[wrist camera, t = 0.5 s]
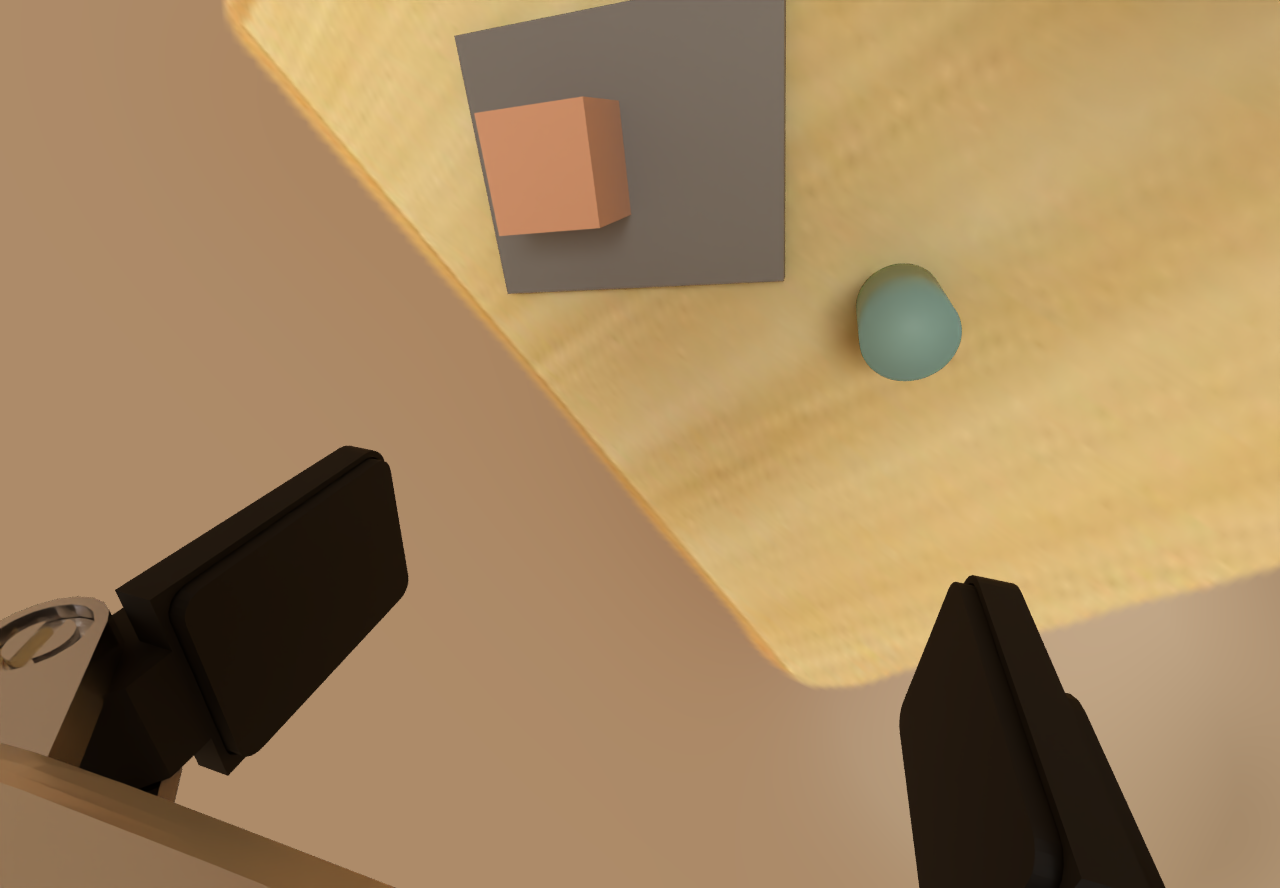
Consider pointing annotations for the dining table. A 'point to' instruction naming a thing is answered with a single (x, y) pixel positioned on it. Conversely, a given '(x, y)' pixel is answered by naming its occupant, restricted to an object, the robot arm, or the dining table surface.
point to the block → (555, 165)
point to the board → (654, 138)
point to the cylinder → (906, 323)
